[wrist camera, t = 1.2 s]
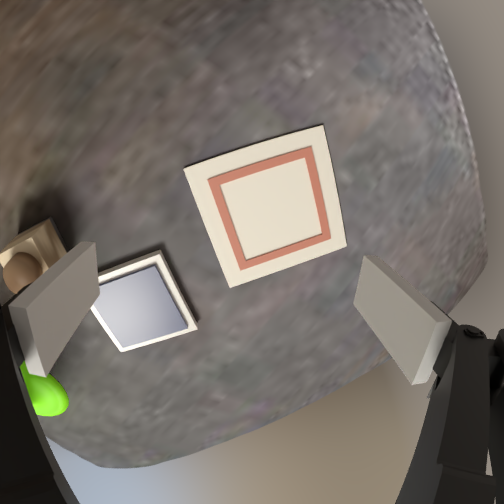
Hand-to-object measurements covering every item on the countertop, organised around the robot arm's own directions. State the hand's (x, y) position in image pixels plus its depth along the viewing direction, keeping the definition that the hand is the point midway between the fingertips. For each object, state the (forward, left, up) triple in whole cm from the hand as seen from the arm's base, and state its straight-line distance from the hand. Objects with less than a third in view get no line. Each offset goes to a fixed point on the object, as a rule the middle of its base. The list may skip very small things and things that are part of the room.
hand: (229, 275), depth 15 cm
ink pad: (+13, -14, -22) cm, 29 cm away
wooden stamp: (+1, -22, -22) cm, 31 cm away
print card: (+7, +6, -22) cm, 23 cm away
